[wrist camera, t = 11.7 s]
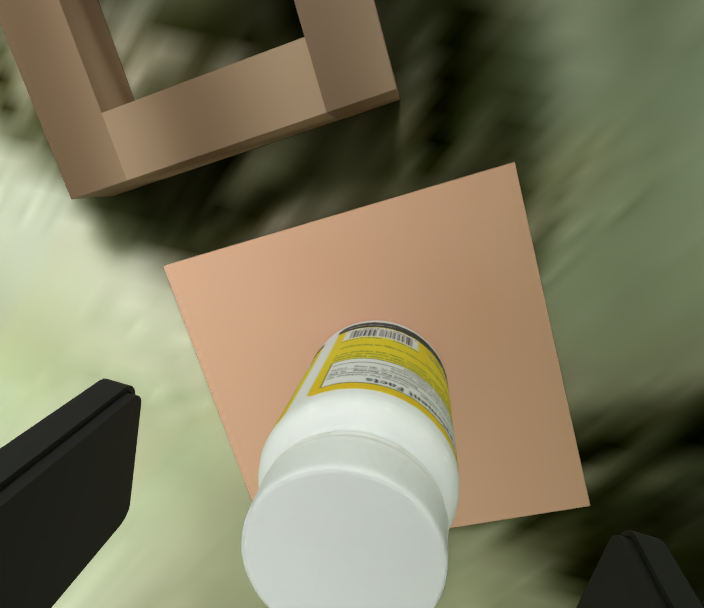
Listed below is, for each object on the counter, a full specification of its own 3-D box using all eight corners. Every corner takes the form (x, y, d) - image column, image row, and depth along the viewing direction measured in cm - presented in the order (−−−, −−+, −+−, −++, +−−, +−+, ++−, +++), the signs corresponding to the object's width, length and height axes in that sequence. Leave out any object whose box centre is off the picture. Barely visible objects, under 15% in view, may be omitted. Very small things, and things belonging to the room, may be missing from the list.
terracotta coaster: (511, 162, 16) (514, 162, 15) (584, 495, 18) (590, 505, 18) (171, 263, 18) (163, 266, 18) (277, 545, 21) (272, 555, 20)
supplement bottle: (363, 467, 18) (314, 696, 10) (284, 365, 18) (168, 524, 10) (476, 401, 17) (520, 603, 9) (395, 289, 17) (367, 401, 9)
